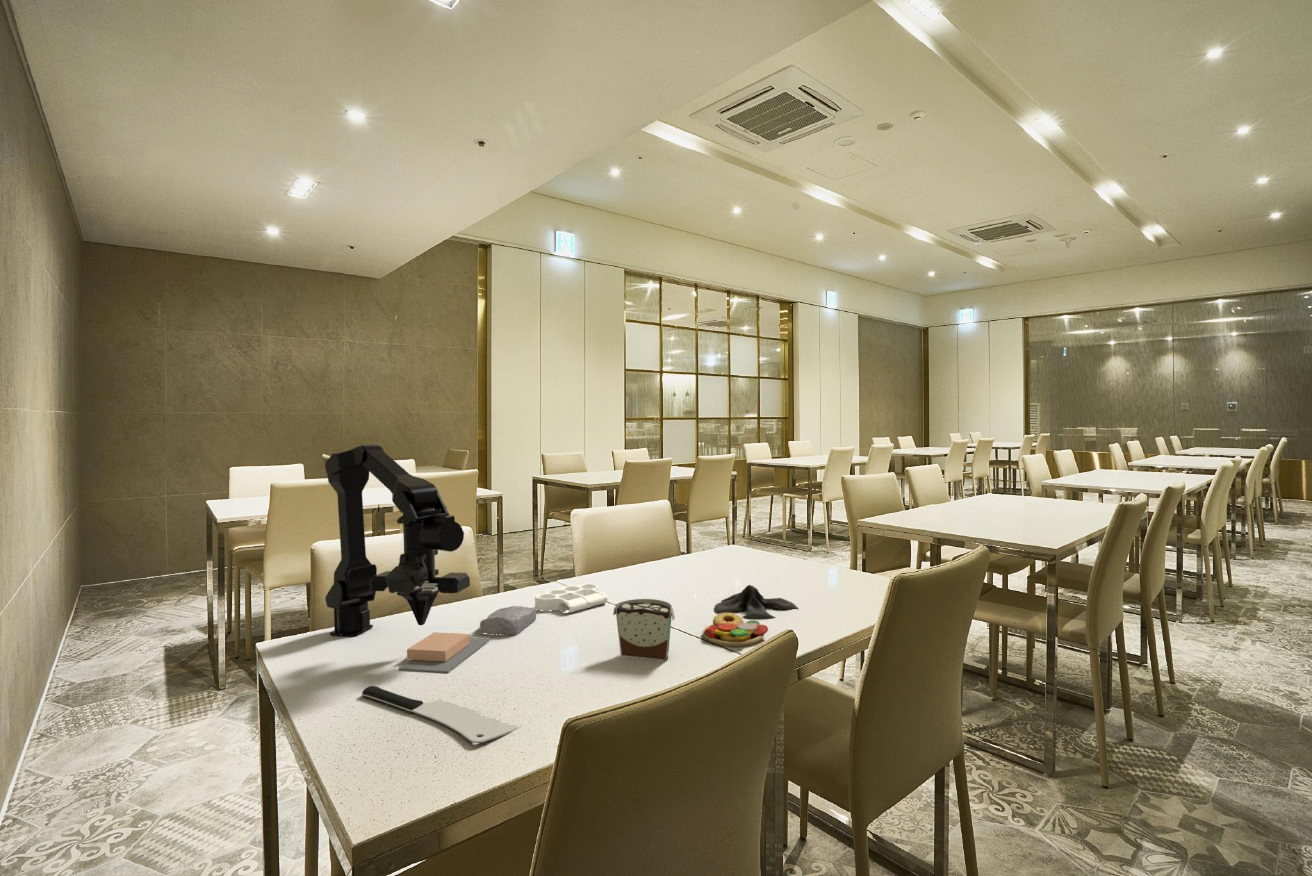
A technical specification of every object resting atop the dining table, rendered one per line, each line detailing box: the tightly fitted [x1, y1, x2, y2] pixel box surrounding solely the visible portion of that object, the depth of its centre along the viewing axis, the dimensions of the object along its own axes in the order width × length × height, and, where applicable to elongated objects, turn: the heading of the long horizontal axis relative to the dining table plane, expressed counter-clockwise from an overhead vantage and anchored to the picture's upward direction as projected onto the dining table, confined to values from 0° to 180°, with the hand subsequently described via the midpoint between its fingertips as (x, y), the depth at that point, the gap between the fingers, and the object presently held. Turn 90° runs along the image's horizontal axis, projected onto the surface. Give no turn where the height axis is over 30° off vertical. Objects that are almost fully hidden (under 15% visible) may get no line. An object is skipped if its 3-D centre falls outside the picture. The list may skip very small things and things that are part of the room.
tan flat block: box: [406, 631, 471, 662], centre depth 128 cm, size 2×10×8 cm
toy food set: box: [702, 613, 769, 647], centre depth 135 cm, size 13×13×3 cm
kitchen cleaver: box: [361, 685, 521, 744], centre depth 102 cm, size 31×2×10 cm
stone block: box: [479, 605, 537, 636], centre depth 144 cm, size 12×5×10 cm
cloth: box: [714, 584, 799, 620], centre depth 156 cm, size 22×19×6 cm
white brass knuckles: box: [534, 583, 608, 615], centre depth 161 cm, size 3×18×15 cm
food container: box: [612, 598, 676, 662], centre depth 126 cm, size 12×6×10 cm, turn 71°
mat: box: [398, 636, 492, 674], centre depth 127 cm, size 10×18×1 cm, turn 169°
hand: (421, 624), depth 128 cm, fingers closed
